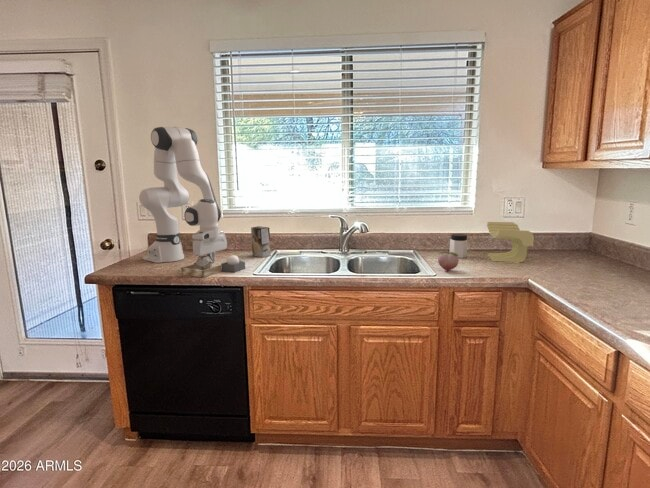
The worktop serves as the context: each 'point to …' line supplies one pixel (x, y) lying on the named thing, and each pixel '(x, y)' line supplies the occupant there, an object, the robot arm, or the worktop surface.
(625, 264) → the worktop surface
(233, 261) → the cream ball
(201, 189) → the robot arm
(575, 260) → the worktop surface
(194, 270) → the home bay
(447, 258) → the decorative fruit
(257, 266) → the worktop surface
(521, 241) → the olive c-shaped block
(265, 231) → the coffee box
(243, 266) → the base
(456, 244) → the jar
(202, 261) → the grey spiky ball
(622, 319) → the worktop surface
